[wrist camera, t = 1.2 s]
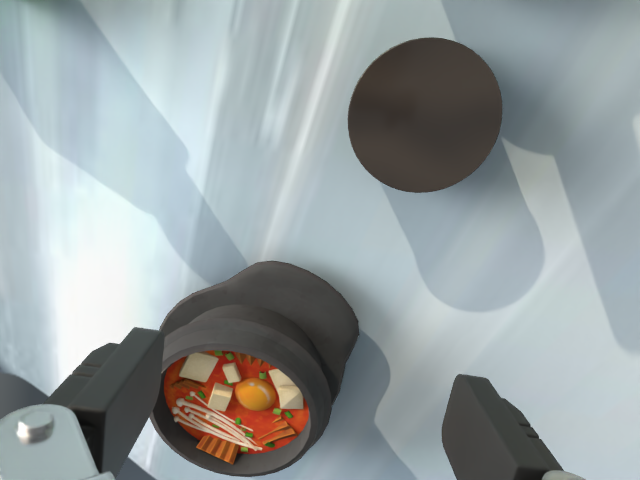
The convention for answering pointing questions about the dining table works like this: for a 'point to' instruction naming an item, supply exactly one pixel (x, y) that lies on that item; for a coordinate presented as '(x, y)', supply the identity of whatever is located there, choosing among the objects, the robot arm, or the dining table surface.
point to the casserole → (253, 369)
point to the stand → (425, 115)
